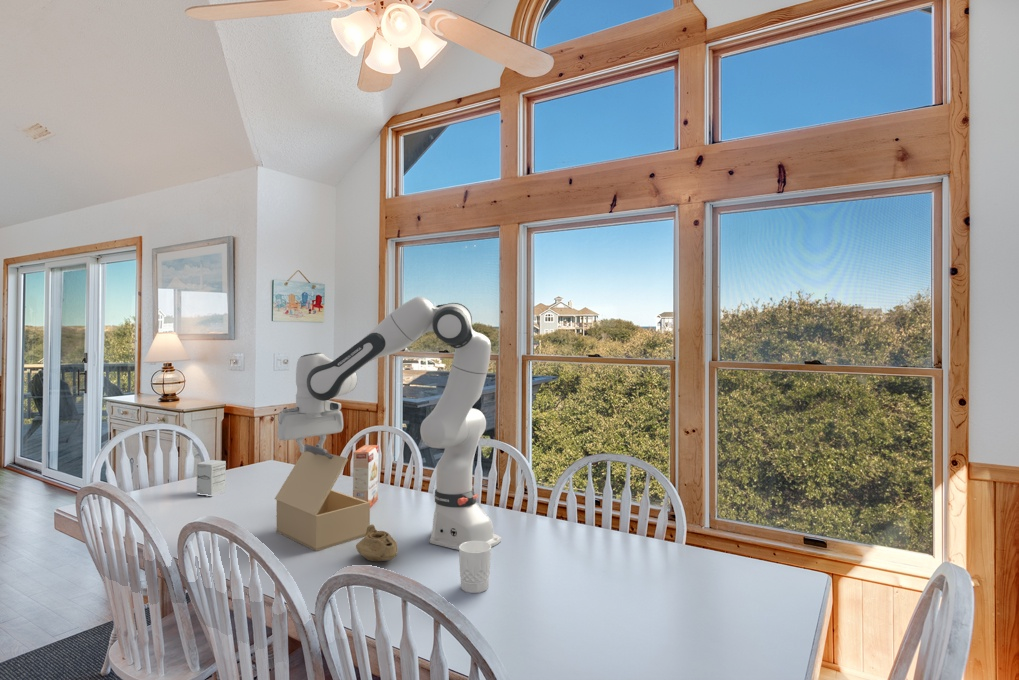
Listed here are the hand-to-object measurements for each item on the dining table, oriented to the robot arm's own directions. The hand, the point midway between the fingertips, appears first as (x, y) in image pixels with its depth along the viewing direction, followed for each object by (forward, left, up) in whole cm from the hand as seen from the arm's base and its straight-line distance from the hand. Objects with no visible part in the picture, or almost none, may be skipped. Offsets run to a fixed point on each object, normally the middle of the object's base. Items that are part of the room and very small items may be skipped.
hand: (311, 450), depth 170 cm
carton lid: (0, 0, -9) cm, 9 cm away
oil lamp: (-30, -4, -27) cm, 40 cm away
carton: (0, -4, -26) cm, 27 cm away
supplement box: (+72, +2, -27) cm, 77 cm away
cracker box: (+15, -30, -27) cm, 43 cm away
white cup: (-62, -9, -27) cm, 68 cm away
